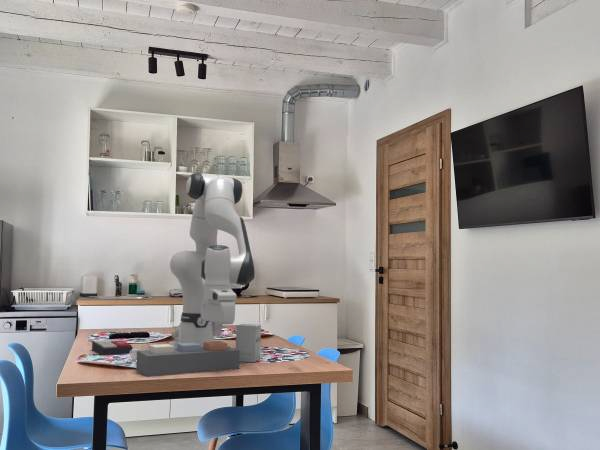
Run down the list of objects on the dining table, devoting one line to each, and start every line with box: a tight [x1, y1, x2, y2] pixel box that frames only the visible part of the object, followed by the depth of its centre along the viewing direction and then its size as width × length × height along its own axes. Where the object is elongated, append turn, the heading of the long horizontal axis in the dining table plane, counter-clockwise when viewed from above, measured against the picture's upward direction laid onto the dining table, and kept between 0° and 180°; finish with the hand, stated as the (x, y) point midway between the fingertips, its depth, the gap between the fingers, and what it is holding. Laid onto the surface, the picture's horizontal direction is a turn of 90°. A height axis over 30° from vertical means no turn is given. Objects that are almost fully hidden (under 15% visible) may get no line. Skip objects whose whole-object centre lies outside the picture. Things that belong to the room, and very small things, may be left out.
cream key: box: [148, 343, 174, 354], centre depth 177 cm, size 6×6×4 cm
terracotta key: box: [203, 340, 228, 351], centre depth 186 cm, size 6×6×4 cm
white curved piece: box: [124, 348, 142, 363], centre depth 196 cm, size 9×8×4 cm
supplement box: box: [235, 323, 262, 363], centre depth 201 cm, size 7×7×13 cm
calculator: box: [91, 338, 134, 356], centre depth 215 cm, size 11×4×15 cm
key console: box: [135, 345, 240, 377], centre depth 181 cm, size 12×30×6 cm, turn 121°
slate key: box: [177, 343, 201, 353], centre depth 181 cm, size 6×6×4 cm
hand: (216, 336), depth 186 cm, fingers closed
